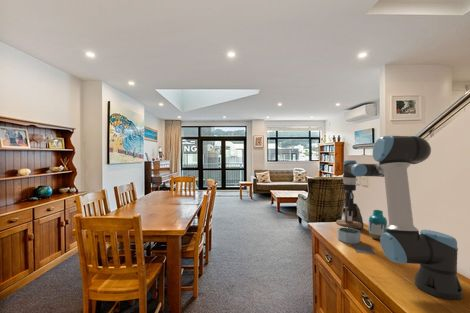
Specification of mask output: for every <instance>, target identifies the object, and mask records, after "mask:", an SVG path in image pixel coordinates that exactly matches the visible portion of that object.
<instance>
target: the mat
mask: <svg viewBox="0 0 470 313" xmlns="http://www.w3.org/2000/svg"><path fill="white" fill-rule="evenodd" d="M351 246H352V247H353V249H354V251H355V252H356V253H357V254H367V255H368V254H369V255H377V253H376V252H375V251H374V249H373V248H371V246H370V245H367V244H366V245H365V244H358V243H357V244H351Z"/></svg>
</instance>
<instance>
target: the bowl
mask: <svg viewBox="0 0 470 313" xmlns="http://www.w3.org/2000/svg"><path fill="white" fill-rule="evenodd" d="M336 230H337V232H336V233H337V234H336V235H337V236H336V238H337V239H338V241H340V242H342V243H345V244H357V245H358V244H359V243H361V230H360V231H359V230H356V229H353V228H347V227H343V226H340V227H338V228H337V229H336Z"/></svg>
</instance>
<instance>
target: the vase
mask: <svg viewBox="0 0 470 313" xmlns="http://www.w3.org/2000/svg"><path fill="white" fill-rule="evenodd" d="M387 226H388V220H387V217H385V216H384V211H383V210H380V209H373V211H372V214H371V215H370V216H369V219H368V233H369V234H368V235H369V236H370V237H371V238H372V239H374V240H378V241H380V238H381V235H382V234H383V233H385V232H386V229H385V228H386V227H387Z"/></svg>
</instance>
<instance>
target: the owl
mask: <svg viewBox="0 0 470 313" xmlns="http://www.w3.org/2000/svg"><path fill="white" fill-rule="evenodd" d="M363 220H364V219H363V216H362V212H361V209H360V208H359V206H358V203H355V202H353V221H356V222H359V223H361V224H362V227H360V228H353V229H356V230H359V231H360V232H361V230H363V229H364V221H363Z"/></svg>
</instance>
